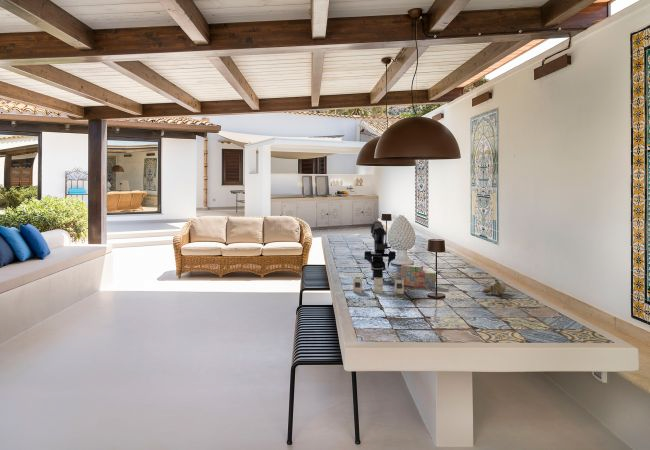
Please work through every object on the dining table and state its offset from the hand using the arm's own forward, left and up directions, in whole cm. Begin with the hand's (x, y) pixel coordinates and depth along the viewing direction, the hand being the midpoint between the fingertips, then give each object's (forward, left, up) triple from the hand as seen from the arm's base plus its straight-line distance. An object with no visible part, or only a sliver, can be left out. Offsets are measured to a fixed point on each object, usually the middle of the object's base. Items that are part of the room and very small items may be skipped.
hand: (380, 267), depth 289 cm
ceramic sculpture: (+48, +45, -13) cm, 67 cm away
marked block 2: (+14, +2, -13) cm, 19 cm away
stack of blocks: (+7, +25, -13) cm, 29 cm away
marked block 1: (-2, -16, -13) cm, 21 cm away
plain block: (+6, -7, -13) cm, 16 cm away
